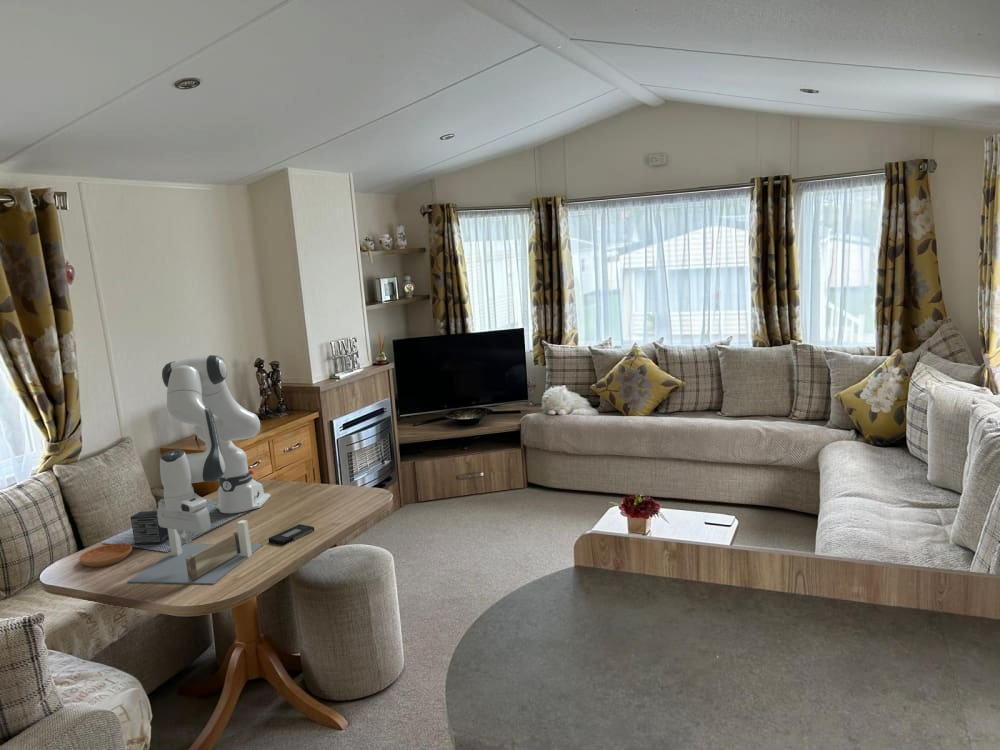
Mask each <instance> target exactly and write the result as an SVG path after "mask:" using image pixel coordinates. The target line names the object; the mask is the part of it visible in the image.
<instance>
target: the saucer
mask: <svg viewBox="0 0 1000 750" xmlns="http://www.w3.org/2000/svg"><path fill="white" fill-rule="evenodd" d="M132 551H133V546H132V545H131V544H129V543H124V542H119V543H118V542H117V543H109V544H104V545H101V546H97V547H94V548H92V549H89V550H87V551H85V552H84V553H81V555H80V556H79V559H78V560H79V562H80V563H81V564H83V565H84V566H87V567H88V568H101V567H102V568H103V567H107V566H111V565H115V564H117V563H119V562H121V561H124V560H125V559H126V558H128V556H129V555H130V554H131V552H132Z"/></svg>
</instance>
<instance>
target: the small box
mask: <svg viewBox="0 0 1000 750" xmlns="http://www.w3.org/2000/svg"><path fill="white" fill-rule="evenodd" d="M130 523H131V528H132V534H133V535H132V536H133V540H134V541H133V542H134V545H135V546H137V545H161V544H163V543H165V542H166V541H168V540H169V535H168V528H163V527H160V526H159V524H158V516H157V510H148V511H138V512H137V513H135V514H134V515H131V516H130Z"/></svg>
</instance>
